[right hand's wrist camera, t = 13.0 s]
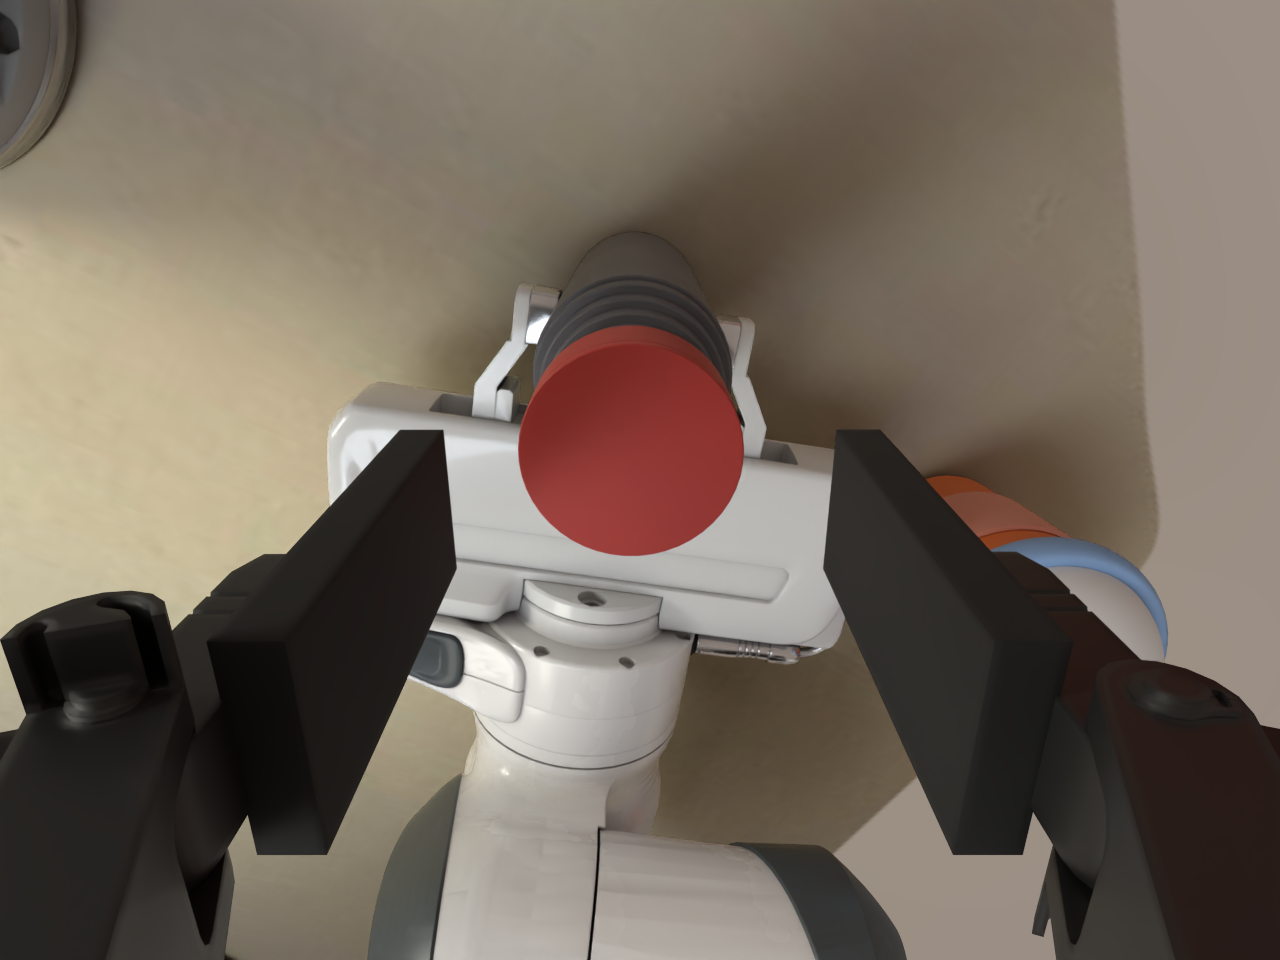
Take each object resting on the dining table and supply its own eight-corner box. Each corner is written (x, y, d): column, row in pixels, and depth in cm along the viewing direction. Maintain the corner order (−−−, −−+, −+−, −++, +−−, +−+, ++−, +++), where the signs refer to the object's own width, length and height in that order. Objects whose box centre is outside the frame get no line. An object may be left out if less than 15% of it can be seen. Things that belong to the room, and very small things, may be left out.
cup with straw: (1065, 547, 38) (1395, 844, 22) (903, 644, 40) (1092, 984, 24) (975, 405, 36) (1273, 620, 19) (807, 517, 38) (942, 799, 21)
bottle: (573, 227, 33) (497, 305, 15) (702, 236, 33) (781, 325, 15) (569, 355, 35) (497, 560, 17) (691, 363, 35) (748, 574, 17)
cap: (531, 317, 16) (518, 335, 15) (745, 332, 17) (758, 351, 15) (528, 512, 18) (516, 550, 16) (722, 524, 18) (731, 563, 17)
